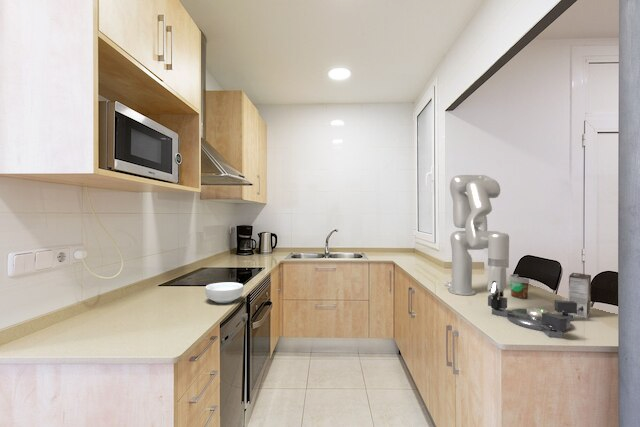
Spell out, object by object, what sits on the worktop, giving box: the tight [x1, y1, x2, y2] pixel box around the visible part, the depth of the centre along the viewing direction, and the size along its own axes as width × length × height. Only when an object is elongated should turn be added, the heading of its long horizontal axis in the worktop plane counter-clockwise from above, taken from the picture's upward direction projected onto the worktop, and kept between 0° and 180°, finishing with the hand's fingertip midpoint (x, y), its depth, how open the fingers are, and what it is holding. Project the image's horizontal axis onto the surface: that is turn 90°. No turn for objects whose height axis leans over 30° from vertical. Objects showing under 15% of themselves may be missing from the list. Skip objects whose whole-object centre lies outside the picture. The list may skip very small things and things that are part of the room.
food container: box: [508, 273, 530, 300], centre depth 164 cm, size 12×6×10 cm, turn 172°
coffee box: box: [568, 272, 592, 319], centre depth 137 cm, size 9×6×16 cm
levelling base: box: [491, 299, 577, 339], centre depth 128 cm, size 26×30×7 cm
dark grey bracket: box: [487, 294, 508, 310], centre depth 136 cm, size 6×4×4 cm
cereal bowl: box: [204, 281, 244, 304], centre depth 151 cm, size 17×17×7 cm
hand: (497, 307), depth 136 cm, fingers closed on dark grey bracket, 4 cm apart
